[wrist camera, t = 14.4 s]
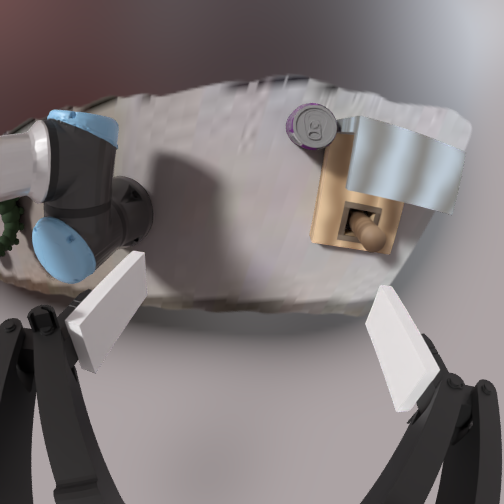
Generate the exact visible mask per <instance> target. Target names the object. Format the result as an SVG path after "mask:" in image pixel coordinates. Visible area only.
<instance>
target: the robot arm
mask: <svg viewBox="0 0 504 504" xmlns="http://www.w3.org/2000/svg"><path fill="white" fill-rule="evenodd" d="M47 119H48V120H42V121H37V122H35V123H34V125H33V126H32V127H31V128H30V129H29V130H28V132H26V133H19V134H11V135H4V136H0V202H1V201H5V200H9V199H13V198H17V197H21V196H25V195H26V196H29V197H30V198H31V199H32V200H33V201H34V202H35V203H44V218H41V219H40V220H39V221H38V223H37V224H36V226H35V227H34V229H33V233H32V242H33V247H34V251H35V253H36V256H37V258H38V259H39V261H40V263H41V264H42V266H43V267H44V268H45V269H46V270H47V272H48V273H49V274H51V275H52V276H53V277H54V278H56V279H58V280H59V281H62V282H64V283H70V284H74V283H78V282H80V281H82V280H83V279H85V278H86V277H87V276H89V275H91V274H93V273H94V271H95V270H96V269H97V268H98V267H99V266H100V265H101V264H102V263H103V262H105V261H106V260H107V259H108V258H109V257H110V256H111V255H112V254H113V253H114V252H115V251H116V250H118V249H123V248H128V247H131V246H134V245H135V244H137V243H138V242H140V241H141V240H142V239H143V238H144V237H145V236H146V235H147V233H148V232H149V230H150V228H151V225H152V220H153V209H152V204H151V201H150V198H149V196H148V194H147V193H146V191H145V190H144V188H143V187H142V186H141V185H140V184H139V183H137V182H136V181H134V180H133V179H130V178H128V177H123V176H117V177H113V173H114V164H115V155H116V149H118V145H117V140H118V131H119V127H118V124H117V122H116V121H115V120H114V119H112V118H110V117H106V116H101V115H96V114H90V113H83V112H74V111H66V110H52V111H51V112H50V113H49V115H48V118H47ZM147 295H148V293H147V281H146V266H145V252H138V251H132V252H131V253H130V254H129V255H128V256H127V257H126V258H125V259H123V260H122V261H121V262H120V263H119V264H118V265H117V266H116V267H115V268H114V269H113V270H112V271H111V272H110V273H109V274H108V275H107V276H106V277H105V278H104V279H103V280H102V281H101V282H100V283H99V284H98V285H97V286H96V287H95V289H94V290H90V289H88V290H86V291H84V292H82V293H80V294H79V295H78V296H77V297H76V298H75V299H74V301H72V302H71V303H70V304H69V306H68V307H66V309H65V310H64V311H63V312H62V313H61V314H60V315H59V316H58V317H56V314H55V310H54V308H53V307H51V306H49V305H40V306H37V307H35V308H33V309H32V310H31V311H30V312H29V313H28V316H27V318H28V320H29V323H30V326H31V328H32V329H28V328H23V326H22V323H21V321H20V320H18V319H16V318H12V319H8V320H5V321H4V322H3V323H2V324H1V325H0V504H33V495H32V479H31V478H32V476H31V448H32V447H31V446H32V428H33V417H34V406H35V399H36V392H37V400H38V407H39V414H40V420H41V425H42V431H43V435H44V440H45V445H46V449H47V453H48V457H49V461H50V465H51V468H52V472H53V475H54V479H55V482H56V489H55V490H54V499H55V502H56V504H125V503H124V501H123V500H122V498H121V496H120V495H119V492H118V490H117V488H116V486H115V484H114V482H113V479H112V477H111V475H110V473H109V471H108V468H107V466H106V463H105V461H104V459H103V456H102V454H101V452H100V448H99V446H98V443H97V440H96V437H95V435H94V432H93V429H92V426H91V423H90V420H89V416H88V413H87V410H86V406H85V403H84V400H83V396H82V392H81V388H80V384H79V380H78V376H77V371H76V368H75V366H74V365H75V363H76V362H77V361H78V360H79V363H80V365H81V368H82V369H85V370H87V371H90V372H93V373H95V374H96V372H97V371H98V369H99V367H100V365H101V364H102V362H103V361H104V359H105V358H106V356H107V355H108V353H109V351H110V350H111V348H112V347H113V345H114V344H115V342H116V340H117V339H118V337H119V336H120V334H121V333H122V331H123V330H124V328H125V327H126V325H127V324H128V322H129V321H130V319H131V318H132V316H133V315H134V313H135V312H136V311H137V309H138V307H139V306H140V305H141V303H142V302H143V300H144V299H145V297H146V296H147ZM365 325H366V327H367V330H368V332H369V335H370V337H371V340H372V343H373V345H374V348H375V351H376V354H377V357H378V359H379V362H380V365H381V368H382V371H383V374H384V376H385V379H386V382H387V385H388V388H389V391H390V395H391V398H392V401H393V404H394V407H395V410H396V412H405V411H410V410H411V409H412V407H413V406H414V405H415V404H416V403H417V406H418V410H417V412H416V413H415V414H414V415H413V416H412V417H411V419H410V420H409V421H408V422H407V423H408V424H409V423H410V425H409V426H408V428H407V430H406V432H405V434H404V436H403V438H402V440H401V441H400V443H399V445H398V447H397V449H396V450H395V452H394V454H393V455H392V457H391V459H390V460H389V462H388V464H387V465H386V467H385V469H384V470H383V472H382V473H381V475H380V476H379V478H378V479H377V481H376V482H375V484H374V485H373V487H372V488H371V490H370V491H369V492H368V494H367V495H366V496H365V498H364V499H363V501H362V502H361V503H360V504H424V502H425V500H426V498H427V496H428V494H429V492H430V490H431V488H432V486H433V484H434V481H435V479H436V477H437V475H438V472H439V470H440V468H441V465H442V463H443V468H442V474H441V480H440V485H439V490H438V494H437V499H436V503H435V504H499V501H500V492H501V475H502V442H501V425H500V415H499V406H498V399H497V392H496V389H495V387H494V385H493V384H492V383H491V382H490V381H487V380H479V382H478V383H477V384H476V386H475V387H473V386H468V385H465V384H464V382H463V380H462V379H461V378H460V377H459V376H458V375H456V374H453V373H449V372H448V370H447V368H446V367H445V364H444V363H443V361H442V359H441V357H440V355H439V354H438V352H437V350H436V349H435V346H434V345H433V343H432V341H431V340H430V339H429V338H428V337H427V336H426V335H425V334H420V332H419V330H418V328H417V327H416V325H415V323H414V322H413V320H412V318H411V317H410V315H409V313H408V312H407V310H406V308H405V307H404V305H403V304H402V302H401V300H400V299H399V297H398V295H397V294H396V292H395V291H394V289H393V288H392V286H386V285H380V287H379V290H378V292H377V295H376V298H375V300H374V303H373V306H372V308H371V311H370V313H369V316H368V318H367V321H366V324H365ZM443 460H444V461H443Z"/></svg>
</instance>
